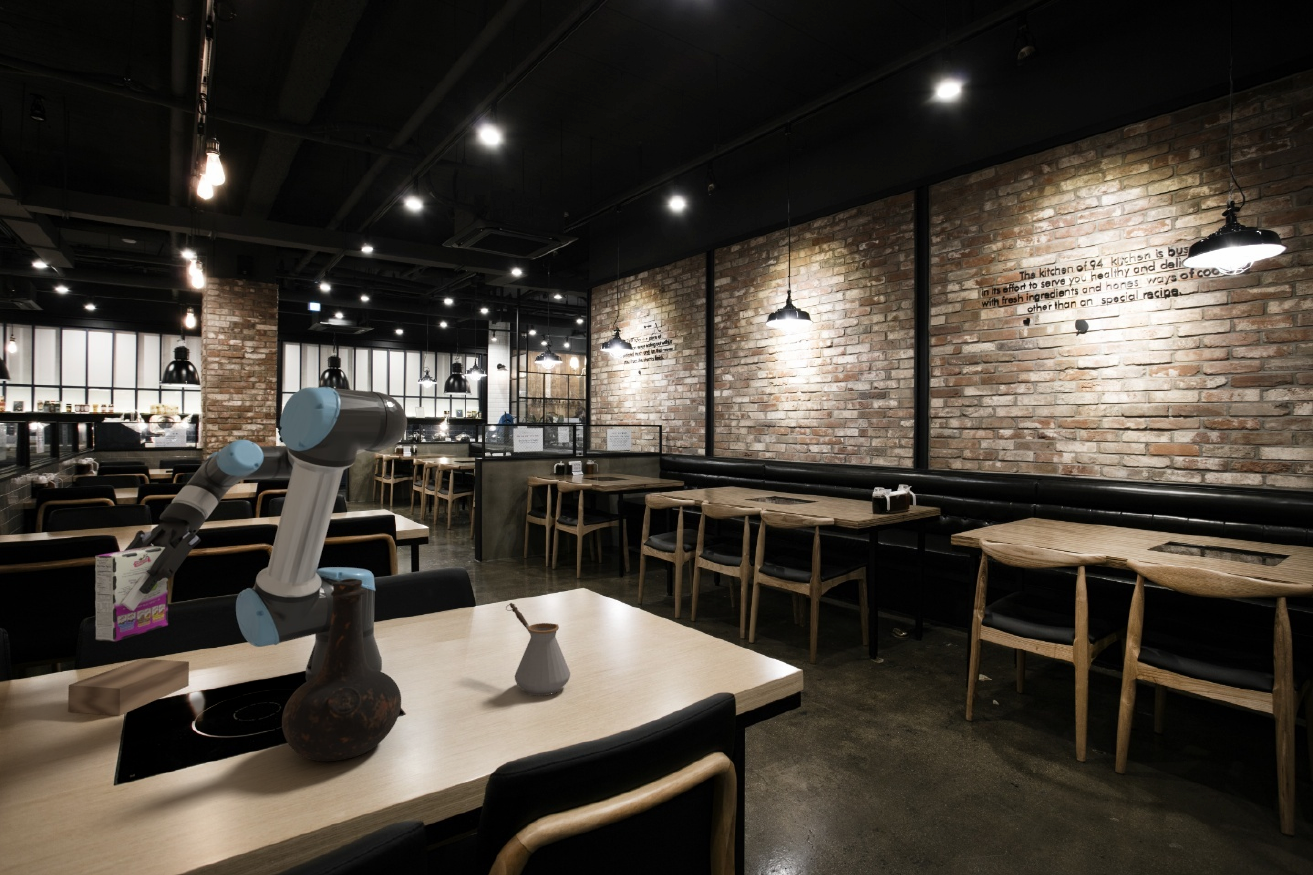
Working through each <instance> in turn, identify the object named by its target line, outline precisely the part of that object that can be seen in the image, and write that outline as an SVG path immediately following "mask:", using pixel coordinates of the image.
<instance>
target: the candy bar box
mask: <svg viewBox="0 0 1313 875" xmlns="http://www.w3.org/2000/svg"><path fill="white" fill-rule="evenodd" d="M164 549H165V547H160V546H153V545H152V546H149V547H143V548H137V549H131V550H126V551H124V550H121V551H115V552H110V553H104V554H99V555H95V557H94V558H95V559H94V561H95V562H94V564H95V566H94V567H95V568H94V571H95V575H94V576H95V578H94V579H95V580H94V581H95V582H94V586H95V587H94V590H95V591H94V592H95V599H94V600H95V601H94V602H95V603H94V604H95V606H94V608H95V615H94V616H95V625H94V626H95V640H96V641H102V642H103V641H104V642H118V641H120V640H125V639H128V638H131V637H134V636H137V635H141V634H143V633H147V632H151V631H155V630H156V629H160V628H164V627H167V626H168V625H169V619H168V618H169V616H168V613H169V606H168V603H169V602H168V600H169V599H168V596H169V590H168V588H169V587H168V586H169V585H168V580H169V579H167V578H163V579H162V580H160V581H158V582H157V583H156V585H155V586H154V587H153V589H152V590H151V591H150V592H149V593H148V594H146V595H145V596H144V598H143V599H142V600H141V602H140V603H139V604H138V606H137V607H136V608H135V610H134V611H130V610H129V609H128V608H127V607H125V606H124V605H123V604H122V601H123V600H124V599H125V597H126V596H127V595H128V594H129V592H130V591H131V590H132V588H133V587H134V586H135V585H136V583H137V582H138V581H139V579H140V578H141V577H142V576H143V574H147V575H148V576H149V575H150V574H148V573H147V570H151V568H152V566H153V564H154V562H155V560H156V559H157V558H158V556H159V555H160V554H161V552H162V551H163V550H164Z"/></svg>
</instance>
